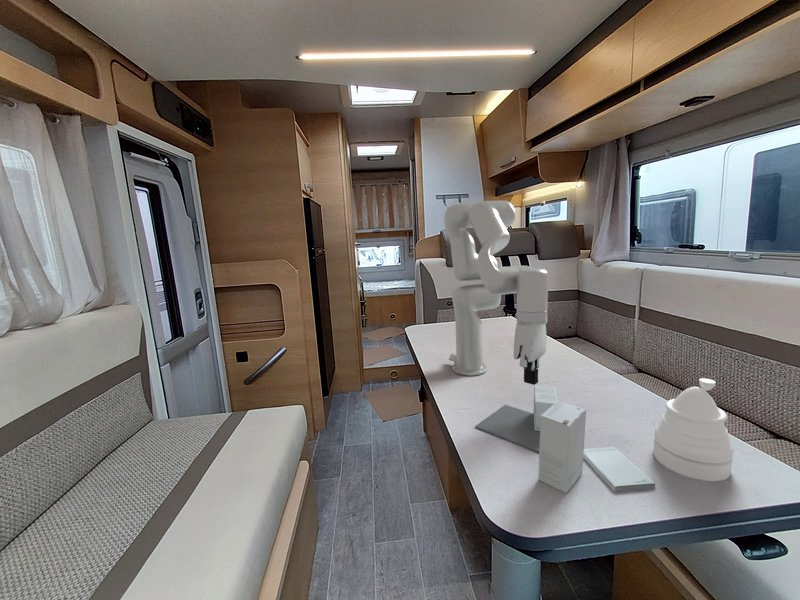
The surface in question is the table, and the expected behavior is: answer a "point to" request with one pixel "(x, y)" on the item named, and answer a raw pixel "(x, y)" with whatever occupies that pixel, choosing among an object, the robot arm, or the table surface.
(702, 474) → the honey pot
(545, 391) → the small box
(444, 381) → the table surface
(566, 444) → the skincare box
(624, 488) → the hard drive
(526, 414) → the rubber mat
